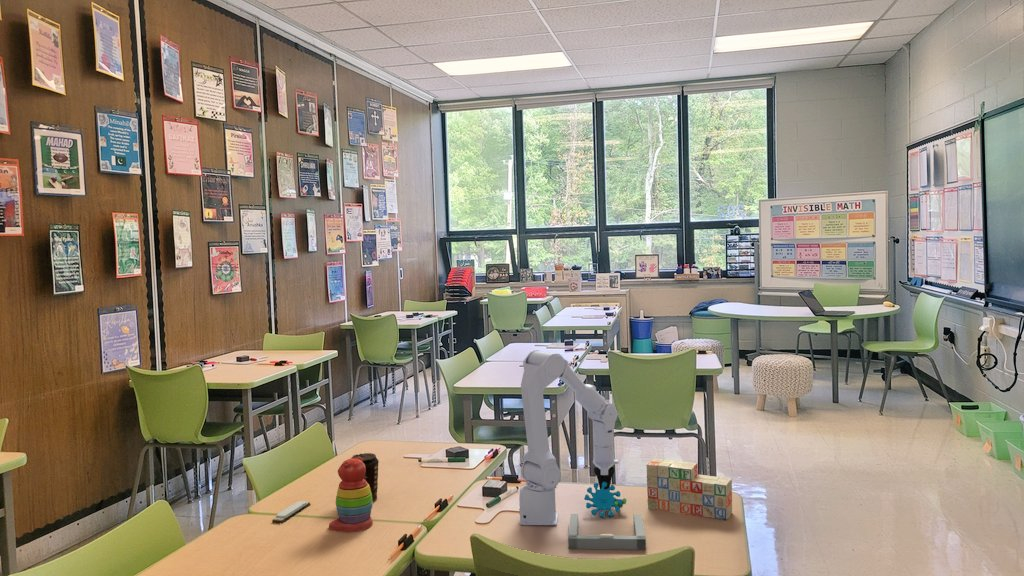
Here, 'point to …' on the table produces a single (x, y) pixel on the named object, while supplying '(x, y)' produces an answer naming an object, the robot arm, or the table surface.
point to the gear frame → (607, 537)
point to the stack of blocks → (687, 490)
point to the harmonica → (290, 511)
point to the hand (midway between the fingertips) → (604, 493)
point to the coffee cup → (370, 472)
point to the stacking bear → (353, 498)
